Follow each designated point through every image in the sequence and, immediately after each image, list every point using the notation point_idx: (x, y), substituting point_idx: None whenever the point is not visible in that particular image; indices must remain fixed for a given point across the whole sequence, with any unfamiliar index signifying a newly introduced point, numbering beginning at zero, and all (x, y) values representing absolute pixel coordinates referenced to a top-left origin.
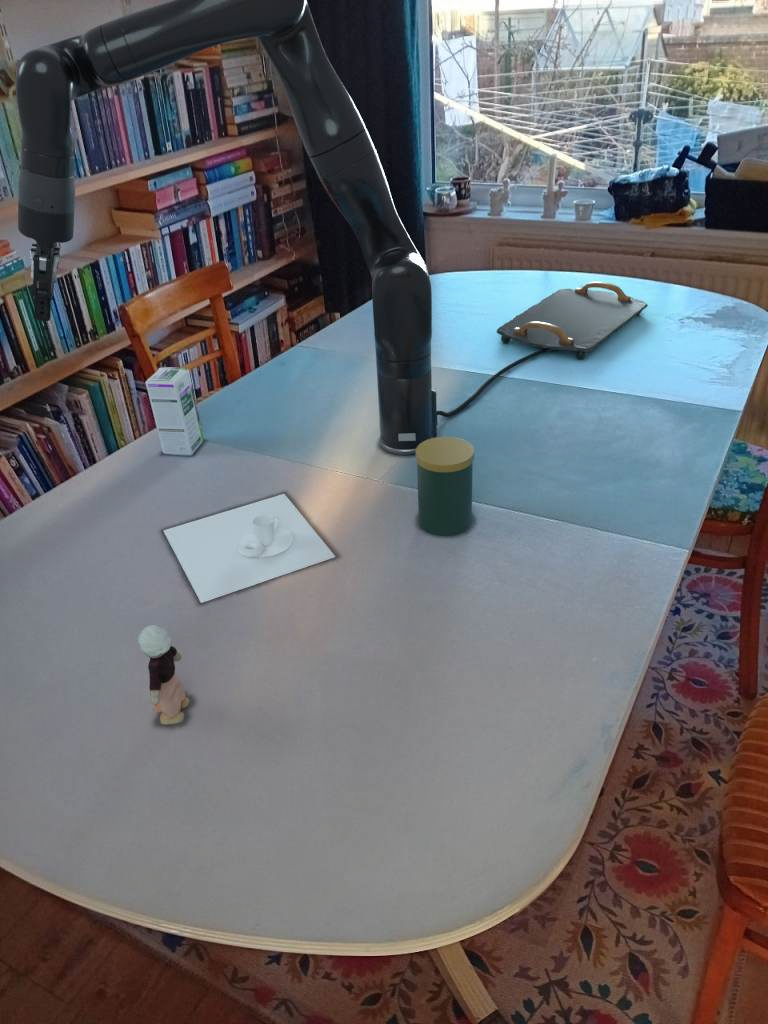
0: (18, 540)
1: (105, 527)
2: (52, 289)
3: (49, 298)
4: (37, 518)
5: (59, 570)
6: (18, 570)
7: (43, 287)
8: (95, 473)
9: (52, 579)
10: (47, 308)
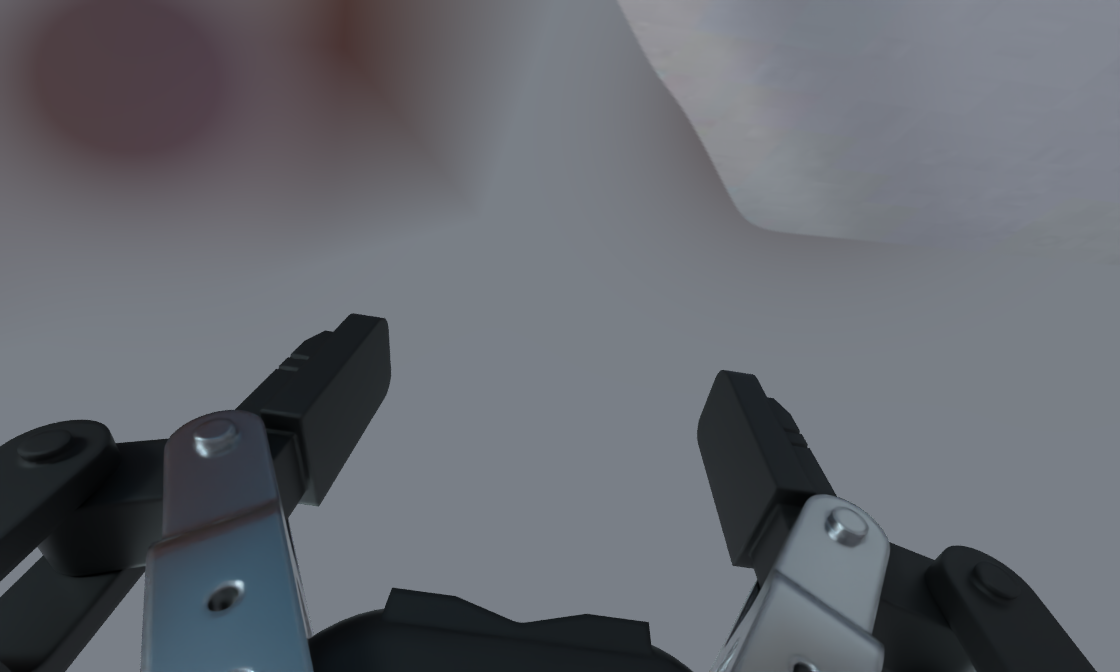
0: (826, 221)
1: (955, 44)
2: (353, 361)
3: (810, 496)
4: (772, 182)
5: (1019, 169)
6: (932, 232)
7: (354, 415)
8: (655, 27)
9: (1035, 185)
10: (805, 451)
